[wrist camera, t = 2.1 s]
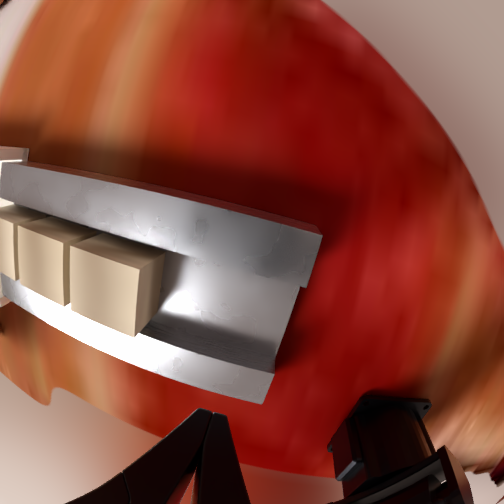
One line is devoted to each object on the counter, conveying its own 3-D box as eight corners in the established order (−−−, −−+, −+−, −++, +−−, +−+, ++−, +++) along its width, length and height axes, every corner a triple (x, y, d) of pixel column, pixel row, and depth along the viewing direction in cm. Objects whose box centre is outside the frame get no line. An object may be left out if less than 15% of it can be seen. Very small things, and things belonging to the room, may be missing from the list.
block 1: (46, 214, 15) (13, 223, 12) (45, 266, 16) (15, 281, 13) (13, 204, 15) (-17, 210, 12) (13, 251, 16) (-15, 262, 13)
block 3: (165, 251, 14) (139, 269, 11) (157, 311, 15) (134, 338, 12) (103, 232, 14) (70, 245, 12) (99, 290, 15) (70, 310, 13)
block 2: (96, 231, 14) (63, 242, 12) (93, 287, 15) (64, 307, 13) (50, 216, 15) (17, 225, 12) (49, 268, 16) (20, 283, 13)
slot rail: (315, 225, 14) (322, 235, 12) (265, 376, 17) (262, 404, 14) (27, 160, 15) (1, 162, 12) (23, 284, 18) (3, 295, 15)
